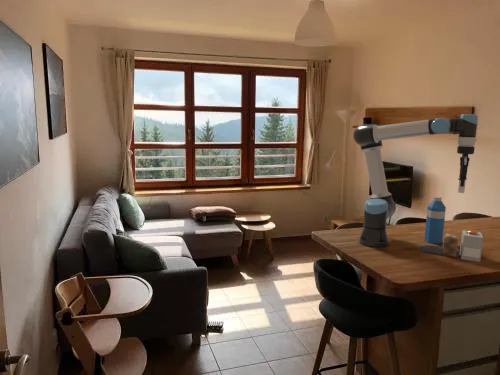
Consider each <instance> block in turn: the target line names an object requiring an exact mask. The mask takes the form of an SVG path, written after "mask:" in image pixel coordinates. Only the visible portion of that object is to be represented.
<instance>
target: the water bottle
mask: <svg viewBox="0 0 500 375" xmlns="http://www.w3.org/2000/svg"><path fill="white" fill-rule="evenodd" d="M442 200H443V199H442V196H438V195H437V196H436V195H435V196H433V198H432V201H431V202H430V203H429V204H428V205H427V206H426V207H427V208H426V219H425V220H426V221H425V230H424V240H423V241H425V242H426V243H428V244H429V243H430V244H435V245H436V244H443V237H444V230H445V220H446V210H447V209H446V208H447V207H446V205H445V204H444V203H443V201H442Z"/></svg>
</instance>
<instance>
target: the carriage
mask: <svg viewBox="0 0 500 375" xmlns="http://www.w3.org/2000/svg"><path fill="white" fill-rule="evenodd" d="M458 243H459V238H458V235H456V234H453V233H452V234H451V233H443V240H442V247H443V255H442V256H447V257H455V258H457V257H456V253H457V249H458Z"/></svg>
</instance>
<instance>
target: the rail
mask: <svg viewBox="0 0 500 375" xmlns="http://www.w3.org/2000/svg"><path fill="white" fill-rule="evenodd" d="M418 246H419V248H418V249H419V250H418V253H427V254H428V253H430V254H436V255H441V256H444V255H443V246H436V245H430V244H429V245H428V244H422V243H420V244H419V245H418ZM455 258H460V248H457V253H456V257H455Z"/></svg>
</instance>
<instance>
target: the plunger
mask: <svg viewBox="0 0 500 375" xmlns="http://www.w3.org/2000/svg"><path fill="white" fill-rule="evenodd" d="M466 231H467V233H468V235H476V236H477V234H478V232H479V231H478V230H474V229H468V230H466Z"/></svg>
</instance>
